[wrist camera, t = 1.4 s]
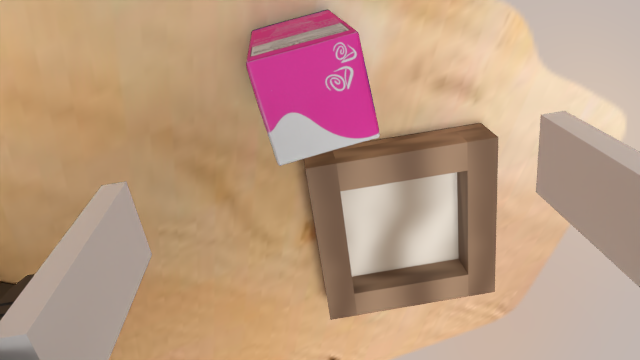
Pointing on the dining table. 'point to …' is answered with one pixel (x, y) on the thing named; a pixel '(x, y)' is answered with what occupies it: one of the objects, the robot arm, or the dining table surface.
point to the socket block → (406, 219)
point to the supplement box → (311, 86)
